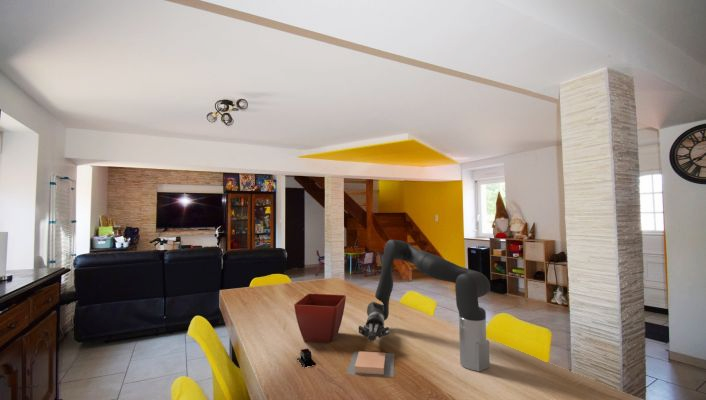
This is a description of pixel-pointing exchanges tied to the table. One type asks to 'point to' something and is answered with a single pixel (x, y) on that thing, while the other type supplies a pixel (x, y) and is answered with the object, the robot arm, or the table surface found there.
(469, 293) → the robot arm
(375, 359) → the tile
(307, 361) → the black blocky piece
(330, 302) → the plant pot
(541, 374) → the table surface
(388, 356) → the mat
